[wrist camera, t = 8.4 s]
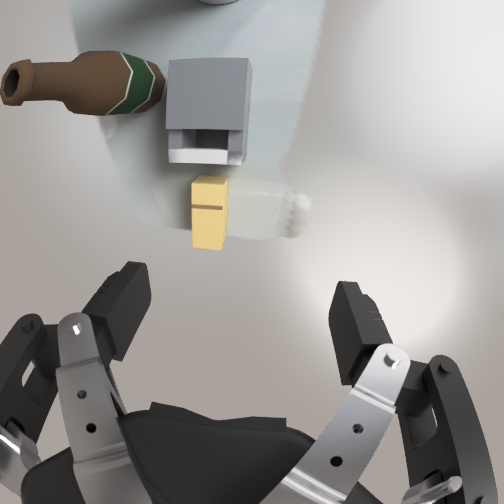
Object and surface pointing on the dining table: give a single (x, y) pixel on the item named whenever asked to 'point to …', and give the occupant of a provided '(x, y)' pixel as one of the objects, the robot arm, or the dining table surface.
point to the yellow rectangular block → (209, 212)
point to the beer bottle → (87, 83)
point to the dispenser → (208, 108)
